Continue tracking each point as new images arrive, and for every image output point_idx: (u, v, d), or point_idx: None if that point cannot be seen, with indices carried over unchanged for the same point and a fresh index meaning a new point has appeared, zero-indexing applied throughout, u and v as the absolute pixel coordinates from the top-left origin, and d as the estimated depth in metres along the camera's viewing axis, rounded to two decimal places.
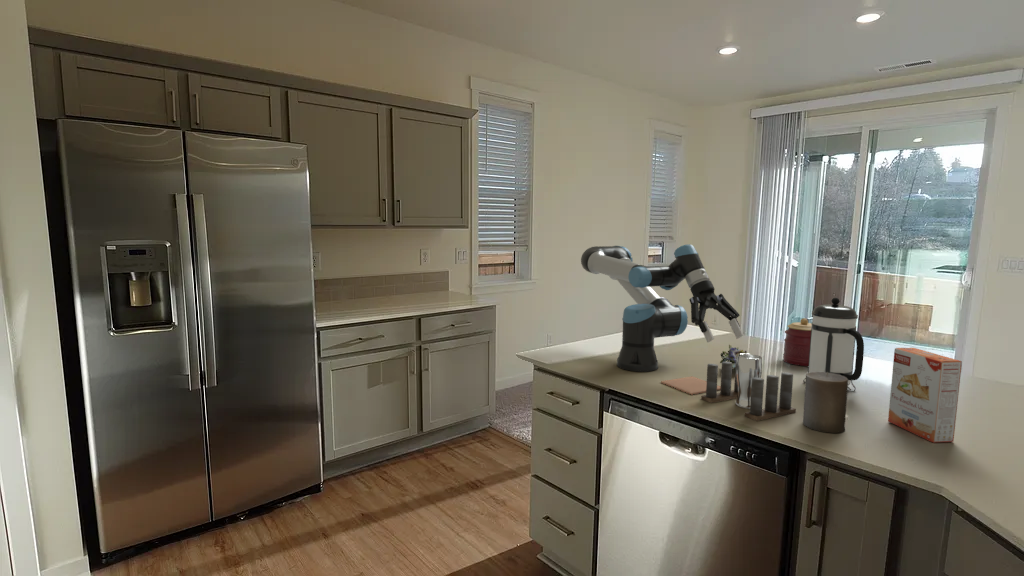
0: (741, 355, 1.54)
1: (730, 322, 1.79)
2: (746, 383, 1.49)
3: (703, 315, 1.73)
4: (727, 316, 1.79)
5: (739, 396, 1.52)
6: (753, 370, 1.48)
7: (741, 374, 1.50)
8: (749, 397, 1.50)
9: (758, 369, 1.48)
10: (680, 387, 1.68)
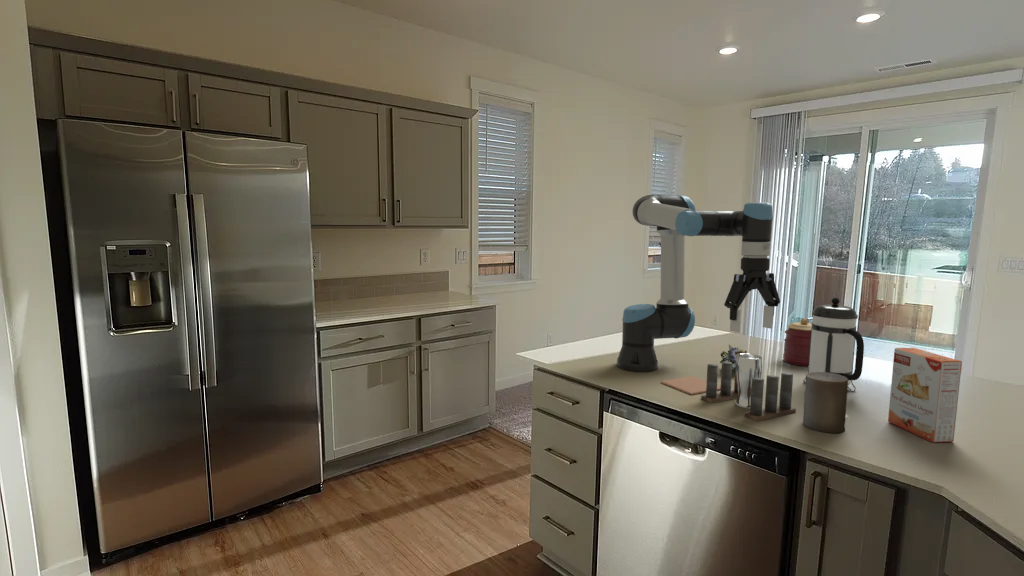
0: (741, 355, 1.54)
1: (765, 307, 1.53)
2: (746, 383, 1.49)
3: (740, 301, 1.45)
4: (766, 300, 1.52)
5: (739, 396, 1.52)
6: (753, 370, 1.48)
7: (741, 374, 1.50)
8: (749, 397, 1.50)
9: (758, 369, 1.48)
10: (680, 387, 1.68)
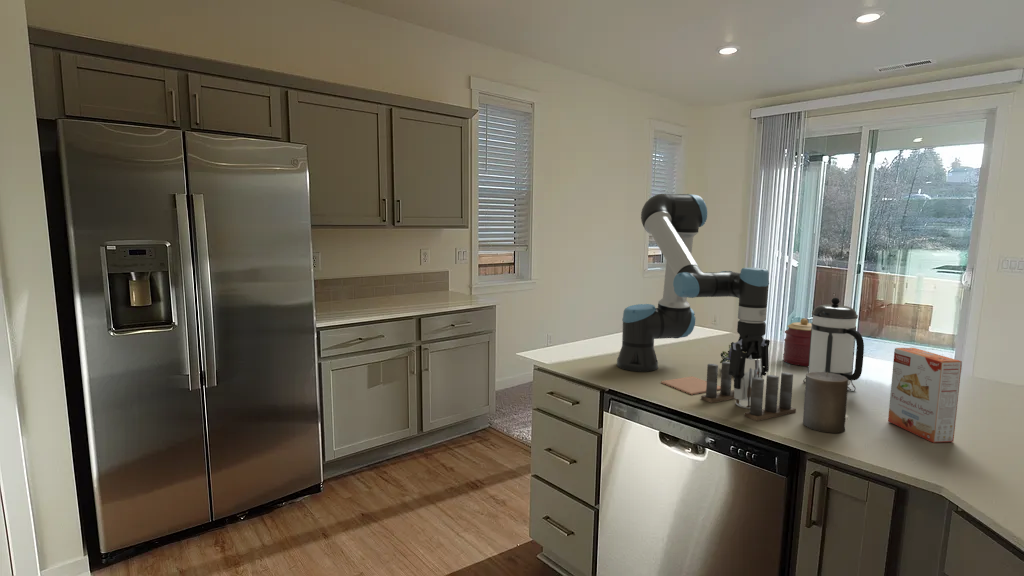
0: None
1: None
2: (746, 383, 1.49)
3: (743, 369, 1.49)
4: None
5: None
6: (753, 370, 1.48)
7: None
8: (749, 397, 1.50)
9: (758, 369, 1.48)
10: (680, 387, 1.68)
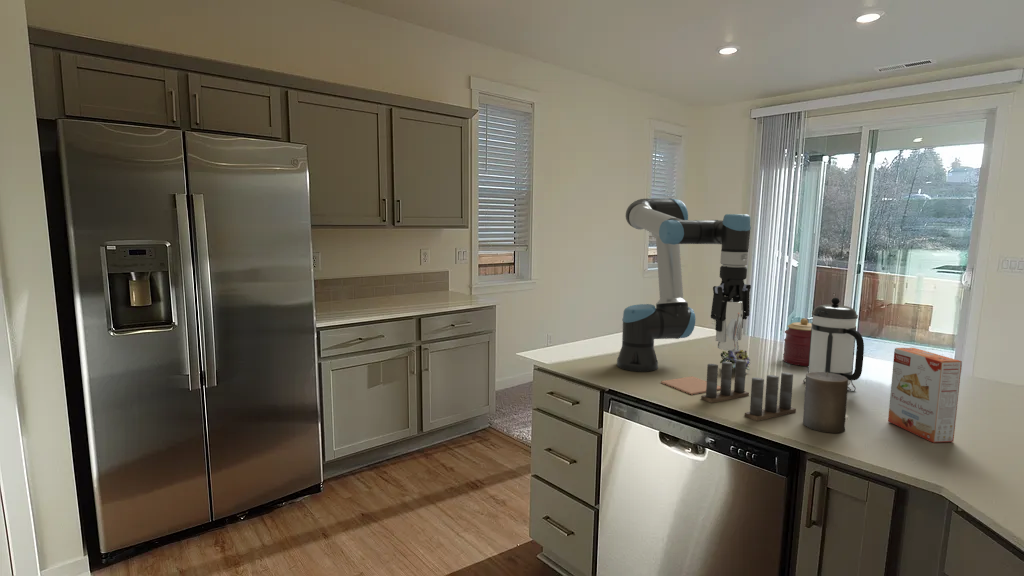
0: None
1: None
2: (727, 325, 1.54)
3: (724, 312, 1.54)
4: None
5: None
6: (734, 313, 1.53)
7: None
8: (730, 339, 1.55)
9: (739, 312, 1.53)
10: (680, 387, 1.68)
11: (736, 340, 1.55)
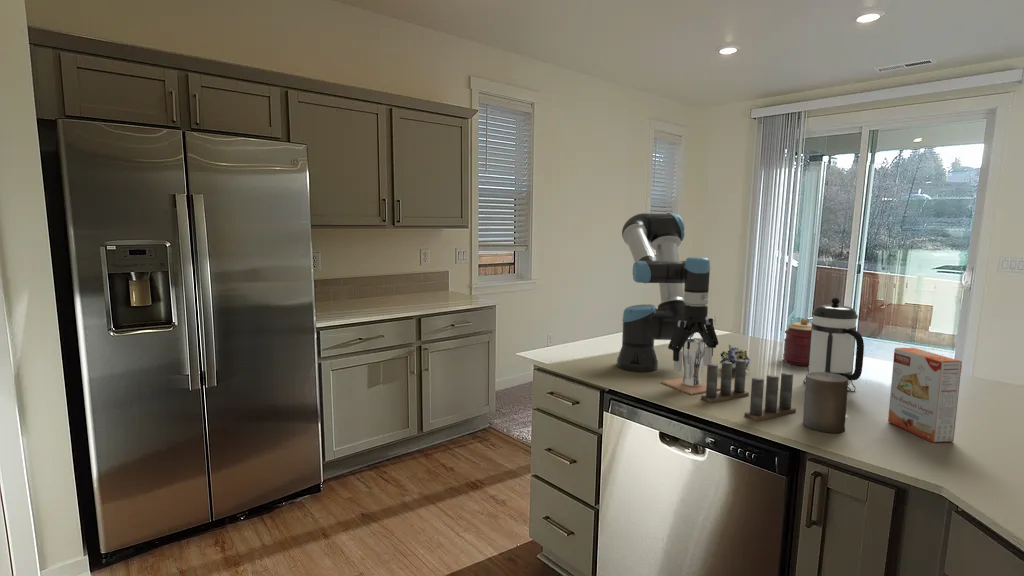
0: (687, 339, 1.72)
1: (705, 348, 1.73)
2: (690, 363, 1.68)
3: (682, 345, 1.66)
4: (706, 342, 1.72)
5: (685, 375, 1.70)
6: (696, 352, 1.66)
7: (686, 356, 1.68)
8: (693, 376, 1.68)
9: (701, 351, 1.66)
10: (680, 387, 1.68)
11: (698, 377, 1.69)
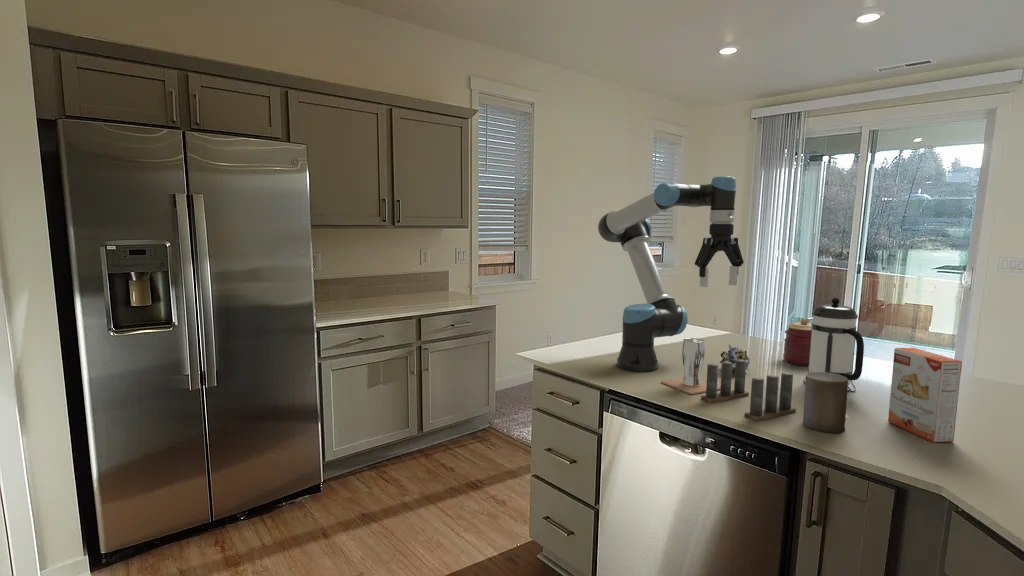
0: (687, 339, 1.72)
1: (731, 267, 1.78)
2: (690, 363, 1.68)
3: (708, 261, 1.71)
4: (731, 261, 1.78)
5: (685, 375, 1.70)
6: (696, 352, 1.67)
7: (686, 356, 1.68)
8: (693, 376, 1.68)
9: (700, 351, 1.67)
10: (680, 387, 1.68)
11: (698, 377, 1.69)
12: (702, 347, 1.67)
